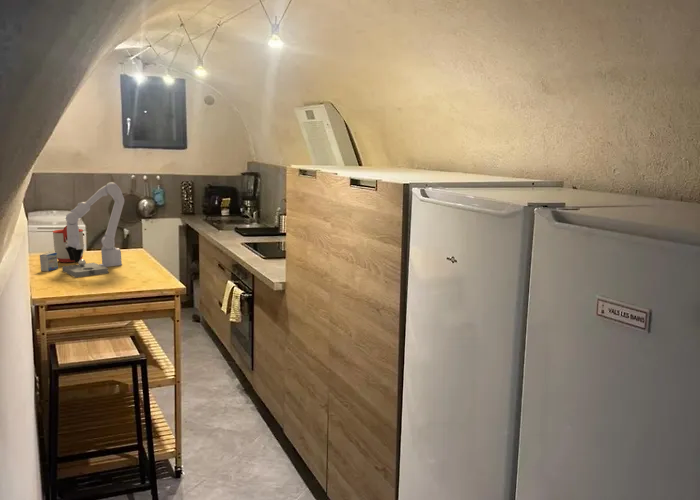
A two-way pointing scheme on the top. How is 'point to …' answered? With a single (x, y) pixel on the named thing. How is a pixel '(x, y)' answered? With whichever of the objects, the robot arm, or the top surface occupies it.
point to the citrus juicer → (64, 244)
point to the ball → (82, 262)
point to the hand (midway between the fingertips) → (75, 261)
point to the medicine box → (48, 261)
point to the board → (85, 270)
